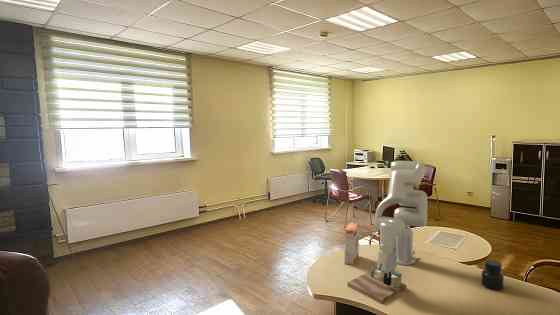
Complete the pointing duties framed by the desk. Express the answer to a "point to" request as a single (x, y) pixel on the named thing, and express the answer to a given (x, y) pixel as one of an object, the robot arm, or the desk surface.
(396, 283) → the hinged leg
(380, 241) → the robot arm
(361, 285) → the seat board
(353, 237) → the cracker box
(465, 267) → the desk surface
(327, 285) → the desk surface
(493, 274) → the ink bottle
